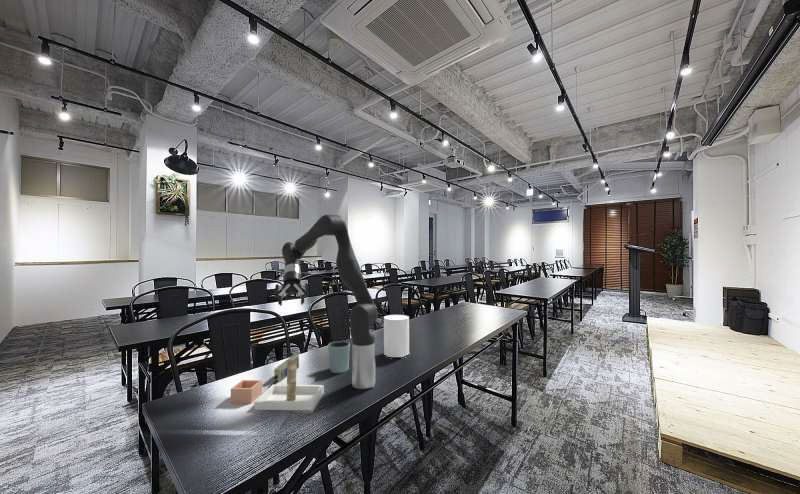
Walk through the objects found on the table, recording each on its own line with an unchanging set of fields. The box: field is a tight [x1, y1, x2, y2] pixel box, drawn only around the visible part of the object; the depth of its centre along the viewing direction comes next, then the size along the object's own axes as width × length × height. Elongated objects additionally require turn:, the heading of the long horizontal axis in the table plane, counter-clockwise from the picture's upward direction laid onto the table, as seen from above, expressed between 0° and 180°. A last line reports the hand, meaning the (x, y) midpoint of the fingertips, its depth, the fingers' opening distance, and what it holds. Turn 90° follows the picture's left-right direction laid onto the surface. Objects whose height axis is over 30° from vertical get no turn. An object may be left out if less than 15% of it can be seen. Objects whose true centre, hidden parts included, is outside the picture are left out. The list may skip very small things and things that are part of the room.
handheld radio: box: [267, 353, 300, 389], centre depth 132 cm, size 7×3×25 cm
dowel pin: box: [286, 360, 297, 401], centre depth 110 cm, size 3×3×14 cm
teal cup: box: [327, 340, 351, 374], centre depth 141 cm, size 10×10×12 cm
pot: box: [230, 379, 263, 404], centre depth 111 cm, size 8×8×6 cm
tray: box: [253, 383, 325, 414], centre depth 110 cm, size 20×14×4 cm
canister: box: [383, 314, 410, 357], centre depth 163 cm, size 14×14×20 cm
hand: (291, 304), depth 129 cm, fingers open, 8 cm apart
